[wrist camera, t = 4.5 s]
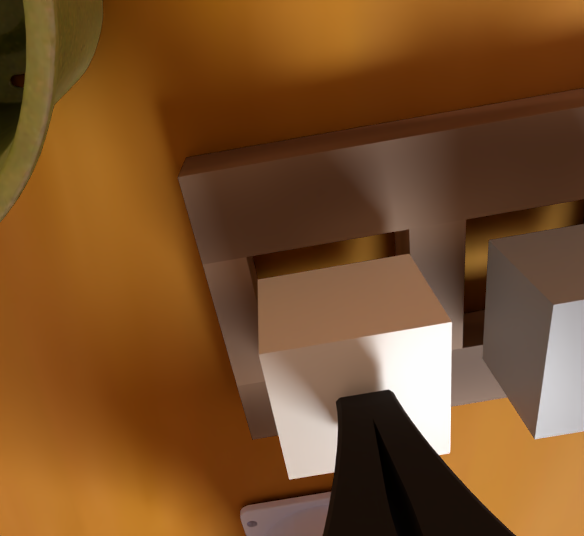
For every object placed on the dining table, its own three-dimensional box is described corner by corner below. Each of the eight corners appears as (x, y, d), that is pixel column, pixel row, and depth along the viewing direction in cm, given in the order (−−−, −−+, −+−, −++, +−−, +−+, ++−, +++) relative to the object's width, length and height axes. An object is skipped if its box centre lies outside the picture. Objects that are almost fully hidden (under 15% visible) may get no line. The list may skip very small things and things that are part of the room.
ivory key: (413, 369, 16) (450, 452, 13) (282, 391, 16) (289, 479, 13) (409, 253, 14) (451, 322, 11) (257, 279, 14) (258, 354, 11)
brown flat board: (756, 318, 20) (803, 347, 19) (252, 402, 21) (252, 439, 19) (869, 38, 15) (950, 42, 13) (186, 157, 15) (177, 177, 14)
